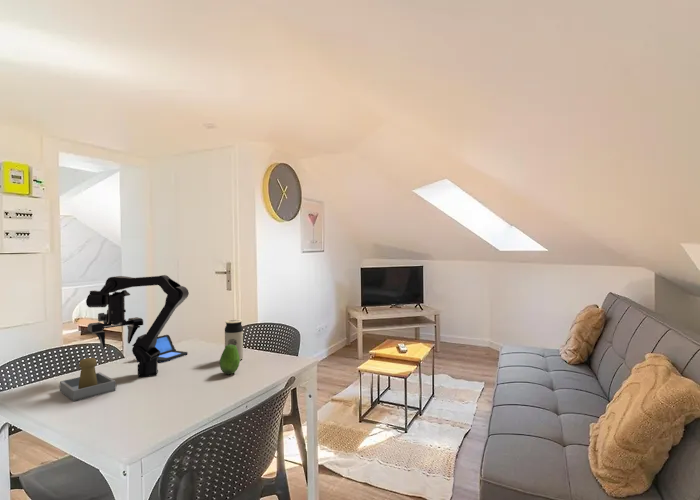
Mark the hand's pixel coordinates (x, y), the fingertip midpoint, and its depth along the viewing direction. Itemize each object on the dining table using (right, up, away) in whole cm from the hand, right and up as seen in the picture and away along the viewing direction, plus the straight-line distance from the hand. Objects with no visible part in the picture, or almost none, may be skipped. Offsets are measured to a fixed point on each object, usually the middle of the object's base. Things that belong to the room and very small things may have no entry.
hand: (116, 345), depth 153 cm
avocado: (+46, -12, +1) cm, 47 cm away
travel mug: (+41, -12, +21) cm, 48 cm away
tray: (0, -12, -17) cm, 21 cm away
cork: (0, -12, -17) cm, 21 cm away
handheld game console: (+7, -13, +26) cm, 30 cm away
